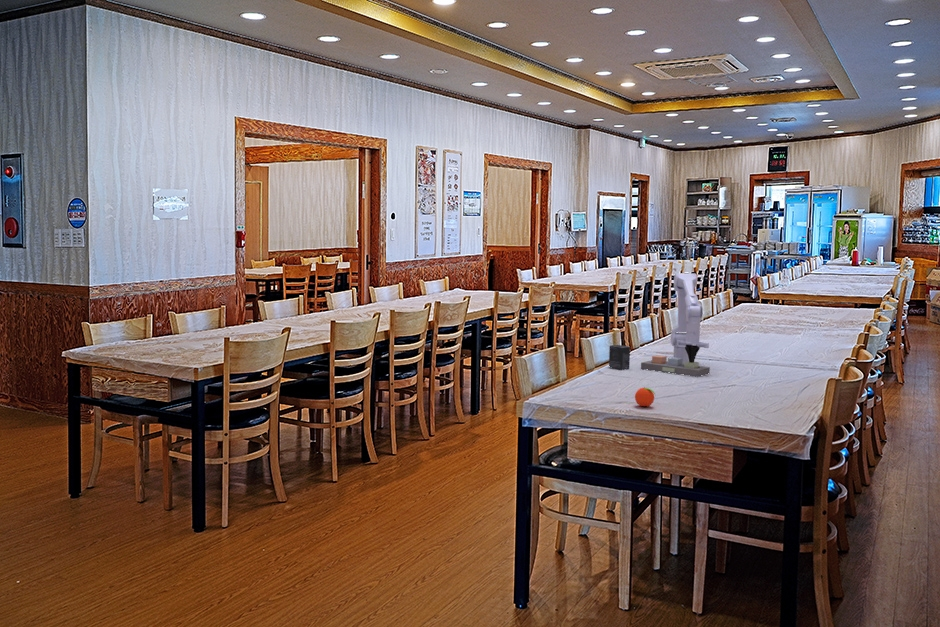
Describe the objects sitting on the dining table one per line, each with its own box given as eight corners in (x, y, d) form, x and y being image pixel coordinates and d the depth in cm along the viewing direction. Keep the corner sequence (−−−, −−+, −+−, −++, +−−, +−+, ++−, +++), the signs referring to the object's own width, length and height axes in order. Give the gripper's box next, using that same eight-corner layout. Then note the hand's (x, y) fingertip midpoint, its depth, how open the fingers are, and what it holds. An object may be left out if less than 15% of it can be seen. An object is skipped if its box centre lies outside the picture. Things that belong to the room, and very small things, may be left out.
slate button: (672, 366, 381) (673, 357, 380) (682, 367, 378) (682, 358, 377) (667, 367, 377) (668, 358, 377) (677, 368, 374) (677, 359, 374)
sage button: (688, 370, 376) (689, 360, 375) (698, 371, 373) (699, 362, 372) (683, 371, 372) (684, 362, 372) (693, 372, 369) (694, 363, 368)
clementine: (660, 407, 300) (660, 387, 300) (650, 410, 295) (651, 390, 295) (640, 403, 306) (641, 384, 305) (630, 406, 301) (631, 387, 300)
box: (629, 369, 382) (630, 346, 380) (621, 370, 378) (622, 347, 377) (616, 366, 388) (617, 344, 386) (608, 367, 384) (609, 345, 383)
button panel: (653, 366, 391) (653, 359, 391) (709, 373, 373) (709, 367, 373) (640, 369, 382) (640, 362, 382) (697, 377, 364) (697, 370, 363)
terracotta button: (656, 364, 386) (657, 355, 386) (666, 365, 383) (666, 356, 382) (651, 365, 382) (652, 356, 382) (661, 366, 379) (661, 357, 379)
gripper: (674, 331, 372) (672, 361, 373) (704, 334, 363) (702, 365, 364) (681, 330, 377) (679, 359, 379) (711, 333, 368) (709, 363, 369)
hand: (691, 362), depth 372 cm, fingers closed, pressing on sage button
